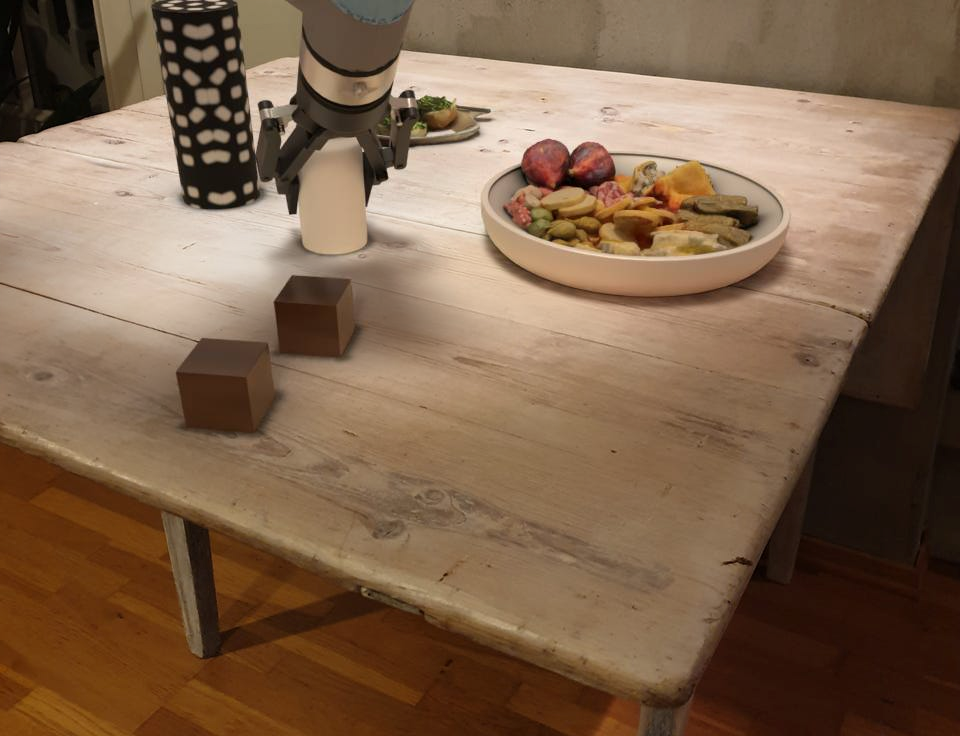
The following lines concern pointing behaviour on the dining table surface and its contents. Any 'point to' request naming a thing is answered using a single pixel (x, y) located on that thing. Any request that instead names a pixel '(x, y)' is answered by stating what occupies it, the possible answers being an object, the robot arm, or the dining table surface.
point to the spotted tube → (207, 101)
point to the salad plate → (436, 122)
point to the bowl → (632, 220)
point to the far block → (315, 316)
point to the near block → (226, 385)
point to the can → (333, 198)
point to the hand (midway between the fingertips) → (326, 198)
